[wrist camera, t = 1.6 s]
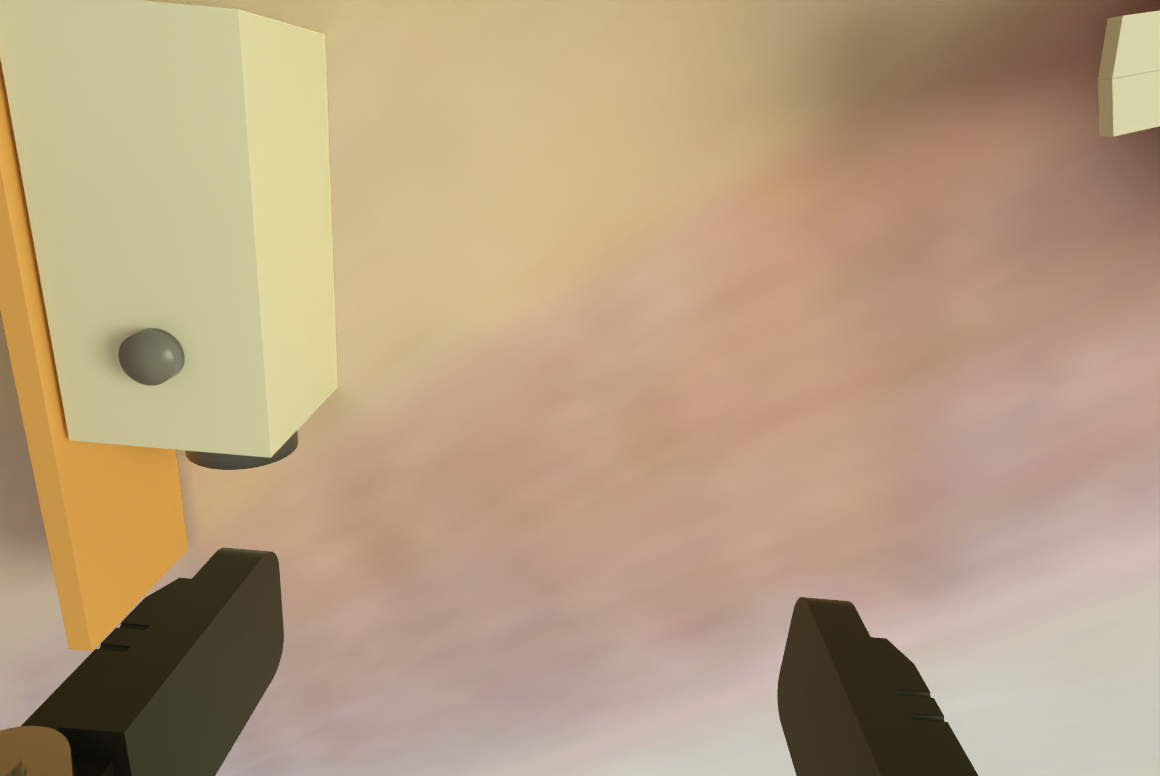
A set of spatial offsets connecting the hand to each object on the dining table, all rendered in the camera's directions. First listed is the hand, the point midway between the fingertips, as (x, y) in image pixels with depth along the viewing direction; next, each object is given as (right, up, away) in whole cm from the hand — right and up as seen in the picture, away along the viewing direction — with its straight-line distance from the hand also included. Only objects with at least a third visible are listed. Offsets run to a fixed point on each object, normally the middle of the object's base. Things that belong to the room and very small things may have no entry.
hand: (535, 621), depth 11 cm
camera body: (-15, +11, +22) cm, 29 cm away
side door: (-20, +7, +24) cm, 32 cm away
